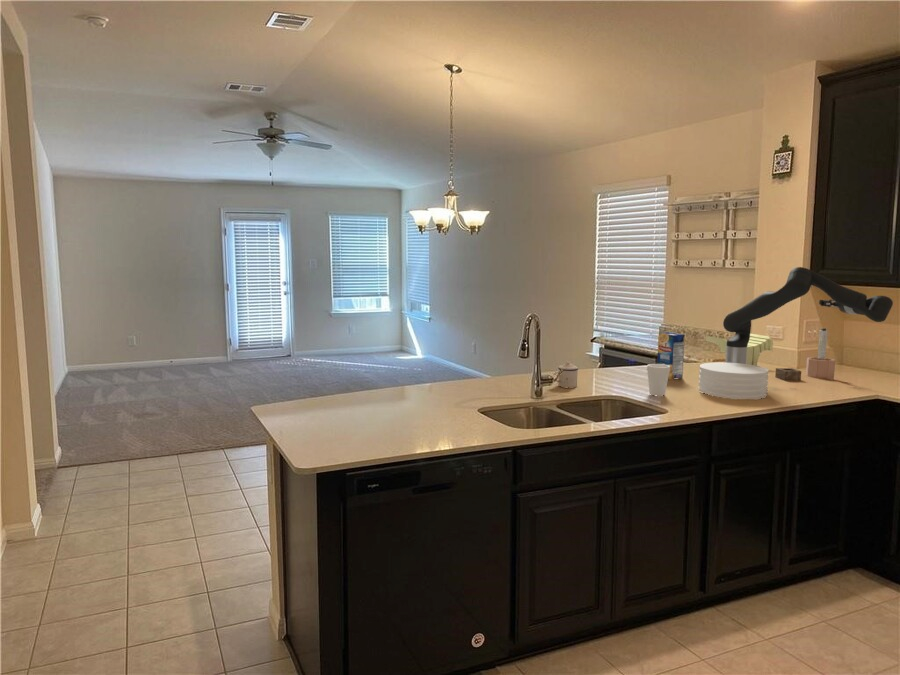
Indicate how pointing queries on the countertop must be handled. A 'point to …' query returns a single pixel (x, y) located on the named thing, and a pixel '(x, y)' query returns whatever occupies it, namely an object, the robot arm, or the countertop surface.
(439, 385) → the countertop surface
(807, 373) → the utensil crock
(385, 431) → the countertop surface
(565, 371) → the teacup with lid
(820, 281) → the robot arm
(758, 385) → the plate stack
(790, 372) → the tong rest
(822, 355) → the tongs
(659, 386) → the foam cup
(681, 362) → the beverage box
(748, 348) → the slatted curved stool
